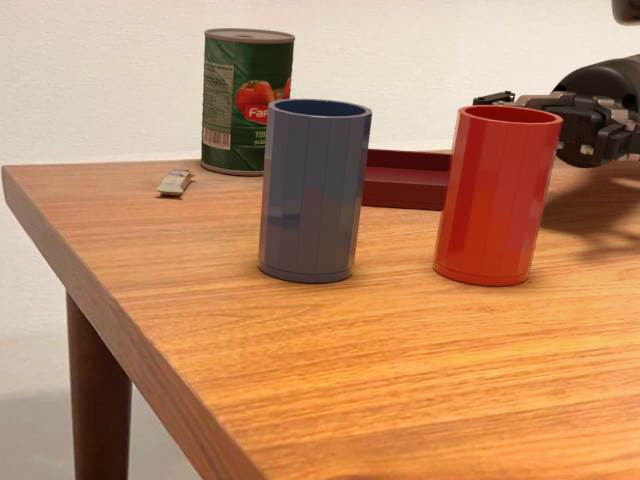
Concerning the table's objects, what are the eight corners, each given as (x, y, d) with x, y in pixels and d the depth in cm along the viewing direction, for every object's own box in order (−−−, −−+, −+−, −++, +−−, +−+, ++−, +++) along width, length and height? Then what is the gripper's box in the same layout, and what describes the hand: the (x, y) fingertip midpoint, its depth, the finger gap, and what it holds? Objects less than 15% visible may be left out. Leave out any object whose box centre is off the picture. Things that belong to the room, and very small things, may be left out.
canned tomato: (218, 153, 94) (224, 25, 88) (296, 163, 92) (307, 33, 86) (186, 169, 88) (190, 32, 82) (268, 180, 85) (278, 41, 79)
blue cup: (351, 256, 68) (369, 102, 62) (354, 286, 62) (374, 120, 57) (260, 250, 68) (270, 96, 63) (255, 279, 63) (266, 113, 57)
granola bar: (181, 188, 78) (146, 182, 78) (180, 202, 79) (145, 196, 79) (205, 168, 83) (172, 163, 84) (204, 182, 84) (171, 176, 85)
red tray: (494, 179, 90) (498, 156, 89) (518, 215, 79) (524, 190, 78) (335, 169, 91) (337, 146, 89) (338, 203, 80) (340, 178, 79)
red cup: (518, 259, 69) (551, 108, 64) (535, 289, 64) (572, 126, 58) (428, 253, 69) (453, 102, 64) (438, 282, 64) (465, 120, 58)
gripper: (531, 50, 80) (452, 67, 69) (712, 71, 74) (658, 94, 62) (512, 146, 84) (435, 177, 73) (682, 174, 78) (626, 213, 66)
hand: (538, 139), depth 68 cm, fingers open, 8 cm apart
